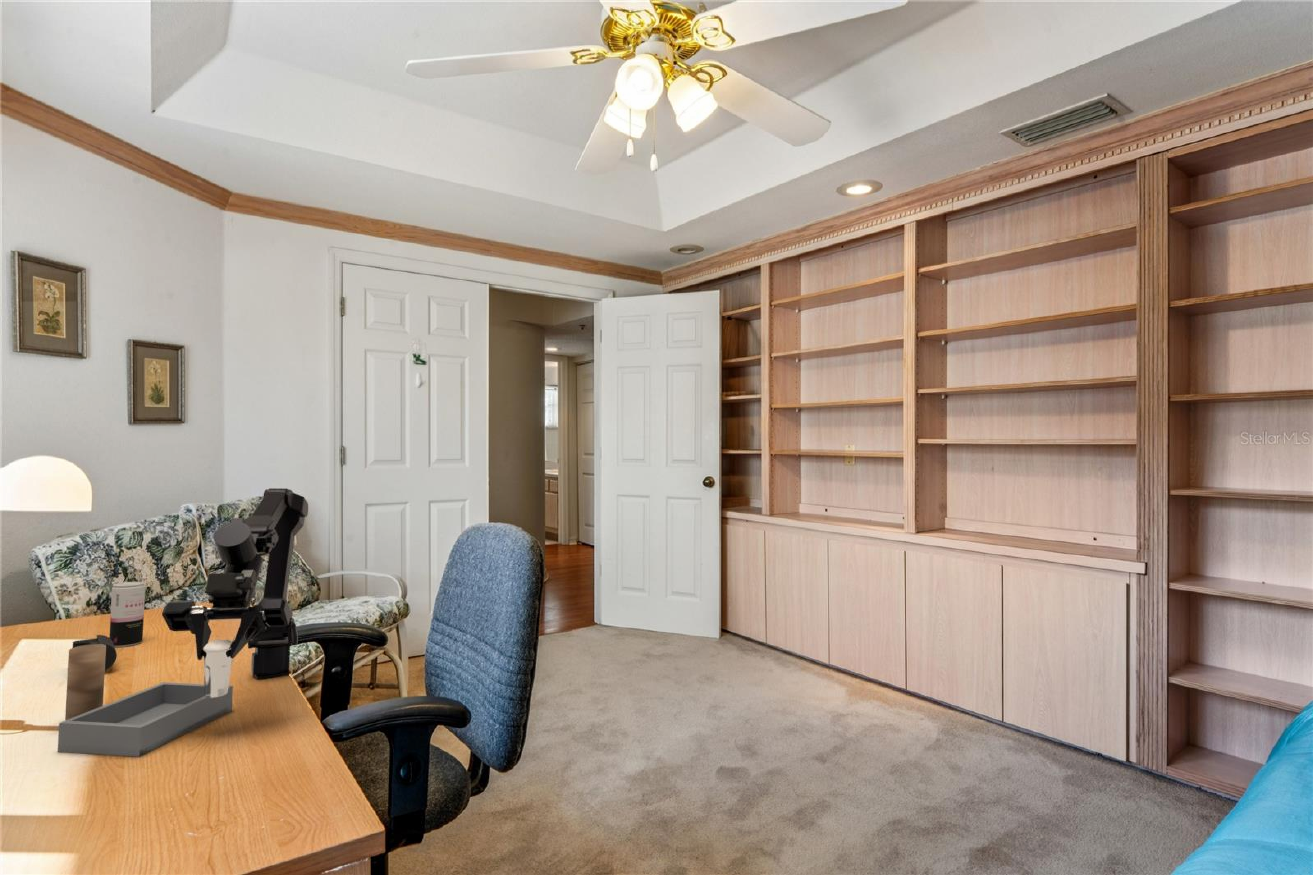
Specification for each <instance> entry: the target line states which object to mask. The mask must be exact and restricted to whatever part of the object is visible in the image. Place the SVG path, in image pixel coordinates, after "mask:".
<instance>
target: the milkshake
mask: <svg viewBox="0 0 1313 875" xmlns="http://www.w3.org/2000/svg"><path fill="white" fill-rule="evenodd" d="M235 639H236V636H235V637H234V636H233V638H232V640H230V639H214V640H211V641H208V643H207V644H206V645H205V646H204V648H203V655H204V656H203V668H204V669H203V671H204V673H203V674H204V676H203V677H204V681H203V682H204V683H203V684H205V697H209V698H214V697H220V696H224V695H226V694H227V693H228V686H230V679H231V678H230V677H231V671H232V665H233V659H234V658H230V652H231V648H232V645H233V643H234V641H235Z"/></svg>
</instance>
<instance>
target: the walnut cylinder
mask: <svg viewBox="0 0 1313 875" xmlns="http://www.w3.org/2000/svg"><path fill="white" fill-rule="evenodd" d="M105 657H106V645H103V644H93V645H84V646H79V647H75V648H73V647H72V648H70V649H68V661H67V662H68V663H67V677H66V678H67V679H66V682H67V683H66V695H65V696H66V700H65V715H64V716H65V717H64V721H65V720H68V719H70V718H73V717H76V716H78V715H81V714H83V713H86V712H88V711H91V710H94V709H96V708H99V707H101V706H104V693H105V677H106V676H105V675H106V671H105Z"/></svg>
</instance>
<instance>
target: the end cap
mask: <svg viewBox="0 0 1313 875" xmlns="http://www.w3.org/2000/svg"><path fill="white" fill-rule="evenodd" d="M109 637H110V636H107V635H104V634H97V635H96V638H95V637H94V638H90V639H89V638H88V639H81V640H74V641H72V648H75V647H79V646H84V645H93V644H103V645H106V657H105V672H106V671H107V670H109V669H110V668H111V667H112V666H113V665H114V664H115V662H116V661H117V657H118V654H117V649H116V647H114V644H113V641H112V640H111V639H110V638H109Z"/></svg>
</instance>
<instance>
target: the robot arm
mask: <svg viewBox="0 0 1313 875" xmlns="http://www.w3.org/2000/svg"><path fill="white" fill-rule="evenodd" d="M308 513H309V503H308V501H307V499H306V498H305V497H304V496H302V495H300V494H298V493H295V492H294V491H293V490H292V489H289V488H281V487H280V488H275V487H274V488H273V487H271V488H268V489H265V490H264V491H263V496H262V499H261V501H260V502H259V504H258V505H257V507H256V508H255V509H254V511H253V512H252V514H251V515H250V516H249V517H247V518H245V517H232V518H231V521H230V522H227V523H225V524H223V525H221V526H220V527H219V528H217V530H214V533H213V537H212V538H213V542H214V544H215V546H216V550H217V552H218V555H219V558H220V560H221V563H224V564H226V565H225V567H224V570H223V572H219V573H217V572H216V573H208V575H207V579H206V586H205V590H204V593H205V594H208V595H209V596H208V599H207V600H208V603H209V604H212V605H211V607H206V606H205V605H197V604H196V602H195V601H194V600H177V601H176V600H175V601H174V600H173V601H171V600H170V601H169V602H167V603H166V604H165V605H164V607H163V610H162V612H161V616H162V618H163V619H164V621H165V623H166V625H167V627H168V629H169V630H170V631H171V632H190V633H191V634H192V635H194V636H195V648H196V659H197V660H198V661H202V659H204V655H203V648H204V646H205V645H206V644H207V643H209V642H210V637H211V635H212V629H211V627H210V625H209V623H210V621H221V620H223V621H224V620H240V625H239V626H238V630H237V631H236V634H235V637H236V639H235V641H234V643H233V645H232V648H231V652H230V658H233V659H235V657H236V656H237V655H238V654H239V653H240V652H241V651H242V649H243V648H244V647H245V646H246V645H247V648H248V649H254V652H252V653H251V666H250V667H251V668H250V671H251V673H252V675H254V678H255V679H256V680H261V679H268V678H273V677H274V678H275V677H279V676H287V675H290V674H292V671H291V669H290V659H291V658H290V655H291V654H290V653H291V647H292V646H293V645H297V644H298V643H299V642H298V640H299V637H298V636H299V635H298V628H297V624H296V623H295V622H296V621H295V619H294V617H293V610H292V608H291V606H290V605H289V602H288V601H287V597H288V588H289V581H290V575H291V573H290V572H291V565H292V558H293V557H292V556H293V550H294V541H295V536H297V534H298V533H299V532H300V530H302V528H303V527H304V524H305V520H306V519H305V518H307V517H308V515H309V514H308ZM260 554H268V560H267V561H268V562H267V568H266V576H265V582H264V589H263V597H262V599H261V600H260V601H259V602H258V604H255V605H254V606H251V605H252V601H253V599H255V597H256V594H257V593H256V588H257V584H258V581H259V577H260V574H261V573H262V567H263V563H264V560H263V558H262V556H261V555H260Z"/></svg>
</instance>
